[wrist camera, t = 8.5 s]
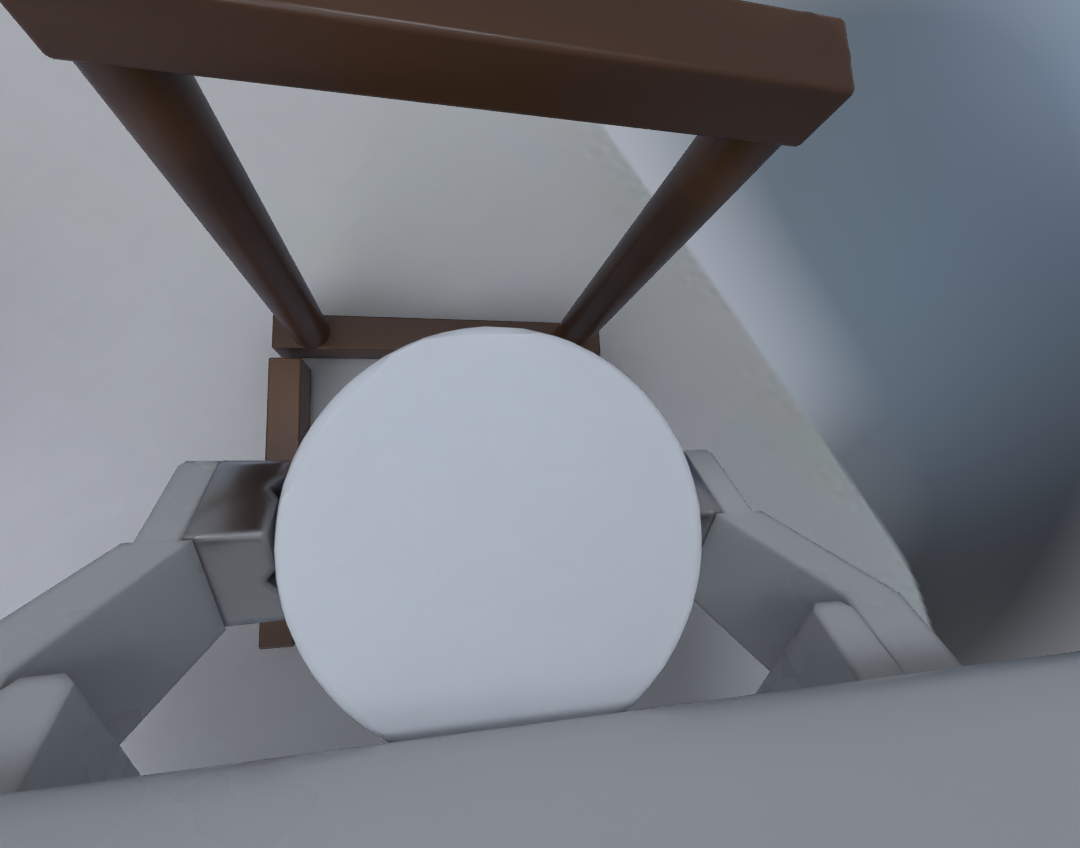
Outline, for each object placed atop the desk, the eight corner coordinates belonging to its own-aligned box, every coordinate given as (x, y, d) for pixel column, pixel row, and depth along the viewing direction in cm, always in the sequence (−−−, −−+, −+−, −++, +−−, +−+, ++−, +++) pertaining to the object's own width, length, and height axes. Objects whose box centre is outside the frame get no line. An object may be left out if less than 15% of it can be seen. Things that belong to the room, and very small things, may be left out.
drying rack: (605, 608, 19) (1010, 839, 6) (272, 638, 17) (-319, 1141, 4) (589, 333, 21) (882, 22, 8) (282, 324, 19) (-102, -159, 5)
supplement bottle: (536, 411, 15) (716, 243, 6) (564, 604, 14) (823, 769, 5) (339, 432, 14) (159, 261, 5) (358, 644, 13) (187, 965, 4)
